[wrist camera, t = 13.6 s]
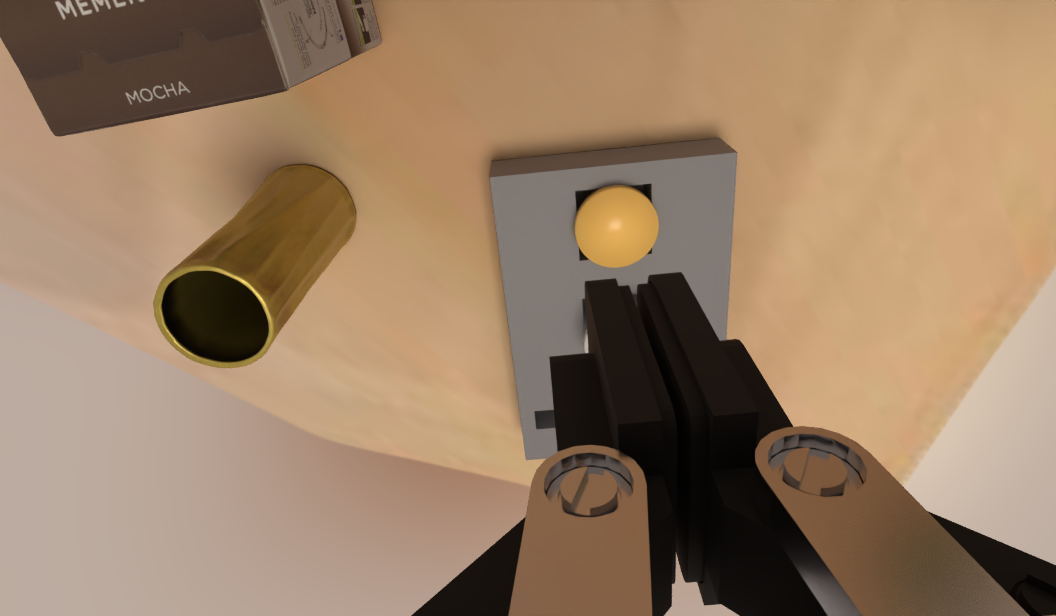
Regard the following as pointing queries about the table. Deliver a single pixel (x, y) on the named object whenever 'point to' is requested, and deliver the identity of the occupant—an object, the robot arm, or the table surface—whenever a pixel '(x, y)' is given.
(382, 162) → the table surface
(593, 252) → the amber button
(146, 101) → the coffee box
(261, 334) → the vase
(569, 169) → the panel
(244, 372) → the table surface
